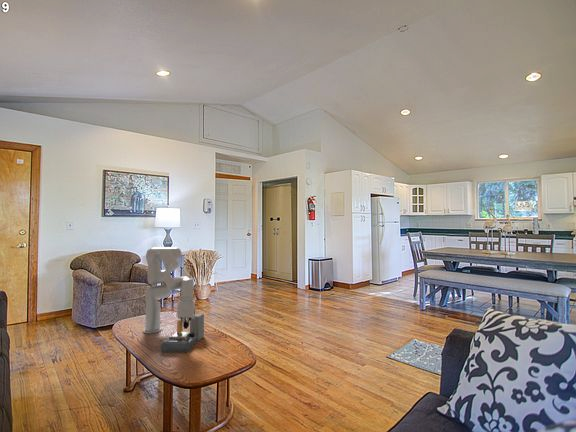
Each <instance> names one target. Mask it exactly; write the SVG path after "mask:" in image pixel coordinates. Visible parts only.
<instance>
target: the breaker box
mask: <svg viewBox="0 0 576 432" xmlns="http://www.w3.org/2000/svg"><path fill="white" fill-rule="evenodd" d="M196 343H197V341H196V333H192V332H190V331H182V332H181V333H180V334H179V335H177V331H172V332H171V333H170V335H169V336H168V337H167V338H163V340H162V341H161V343H160V353H175V354H176V353H177V354H178V353H179V354H183V353H184V354H188V353H189V352H190V351H191V349H192V348H193V347H194V345H196Z"/></svg>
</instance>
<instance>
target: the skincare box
mask: <svg viewBox="0 0 576 432" xmlns="http://www.w3.org/2000/svg"><path fill="white" fill-rule="evenodd" d="M189 332H192V333H196V342H197V341H198V342H199V341H200V340H201V339H203V338H205V337H204V336H205V314H204V313H195V318H194V319H191V320H190V321H189Z"/></svg>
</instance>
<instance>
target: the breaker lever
mask: <svg viewBox="0 0 576 432" xmlns="http://www.w3.org/2000/svg"><path fill="white" fill-rule="evenodd" d="M183 329H184V327H183V321H182V320H181V319H179V318H178V319H177V320H176V332H177V335H179V334H180V333H181V332H183Z"/></svg>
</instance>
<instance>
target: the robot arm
mask: <svg viewBox="0 0 576 432" xmlns="http://www.w3.org/2000/svg"><path fill="white" fill-rule="evenodd" d="M182 256H183V255H182V251H181V249H180V248H179V247H178V246H177V247H173V246H165V247H163V246H162V247H161V246H159V247H158V246H157V247H151V248H149V249H147V251H146V252H145V259H146V262H147V283H148V284H149V285H151V286H149V287H147V288H146V289H145V290H144V296H145V322H144V323H145V325H144V326H145V327H144V328H143V329H142V333H143V334H157V333H159V332H161V331H162V330H163V327H162V326H161V324H162V320H161V303H160V302H159V301H158V300H159V299H160V300H161V299H165V298H168V297H170V296H171V292H172V291H175V290H180V296H178V299H179V300H178V304H177V312H176V316H177V319H178V320H179V319H181V320H182V321H183V329H184V330H185V329H186V330H187V329H188V328H190V320H191V319H194V318H195V314H196V304H195V303H196V302H195V300H194V287H195V285H194V283H195V282H194V279H193V278H191V277H188V276H186V275H185V276H177V277H172V275H171V274H172V272H174V271H176V270H177V269H178V268H179V266H180V263H179V262H178V260H179V259H181V257H182ZM159 260H161V261H162V263H163V265H164V267H165V269H161V267H162V265H161V262H160V261H159ZM158 284H159V285H158ZM152 285H153V286H152Z"/></svg>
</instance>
